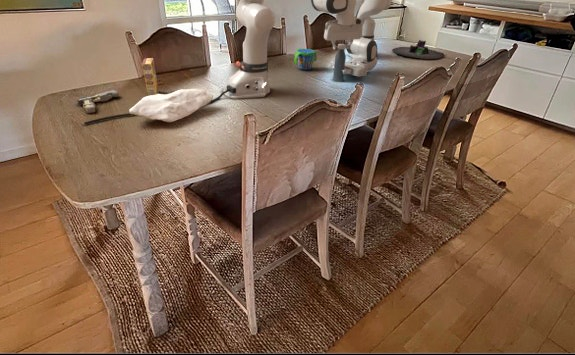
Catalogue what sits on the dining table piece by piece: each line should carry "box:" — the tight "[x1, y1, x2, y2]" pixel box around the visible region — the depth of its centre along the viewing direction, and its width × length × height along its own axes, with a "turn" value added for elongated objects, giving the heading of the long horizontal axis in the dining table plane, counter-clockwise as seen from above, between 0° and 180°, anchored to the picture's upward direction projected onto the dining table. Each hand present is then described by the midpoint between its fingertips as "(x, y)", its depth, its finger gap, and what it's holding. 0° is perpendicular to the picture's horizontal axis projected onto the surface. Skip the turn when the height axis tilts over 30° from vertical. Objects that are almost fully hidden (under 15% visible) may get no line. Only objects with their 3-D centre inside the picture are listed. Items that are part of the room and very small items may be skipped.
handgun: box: [76, 89, 120, 114], centre depth 155 cm, size 3×18×15 cm
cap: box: [337, 43, 346, 50], centre depth 186 cm, size 4×4×2 cm
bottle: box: [332, 49, 347, 83], centre depth 191 cm, size 6×6×18 cm
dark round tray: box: [391, 39, 445, 60], centre depth 250 cm, size 35×35×9 cm
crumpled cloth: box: [128, 88, 214, 123], centre depth 147 cm, size 24×35×9 cm
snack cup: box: [293, 48, 318, 71], centre depth 208 cm, size 16×10×10 cm
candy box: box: [141, 57, 160, 96], centre depth 163 cm, size 9×4×15 cm, turn 13°
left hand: (341, 48), depth 187 cm, fingers open, 6 cm apart
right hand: (338, 70), depth 192 cm, fingers closed on bottle, 5 cm apart
